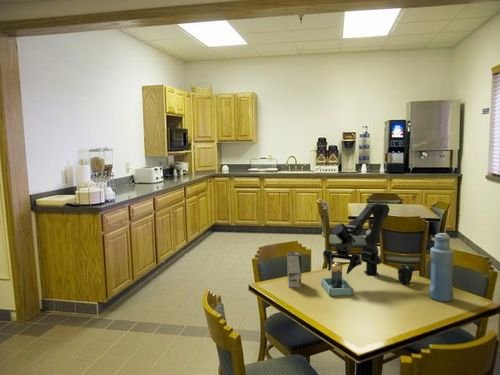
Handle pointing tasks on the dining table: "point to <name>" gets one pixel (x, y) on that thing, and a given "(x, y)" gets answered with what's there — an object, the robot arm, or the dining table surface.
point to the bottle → (441, 269)
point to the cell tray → (343, 291)
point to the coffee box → (294, 269)
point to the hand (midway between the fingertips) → (337, 272)
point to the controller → (405, 273)
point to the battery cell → (336, 275)
